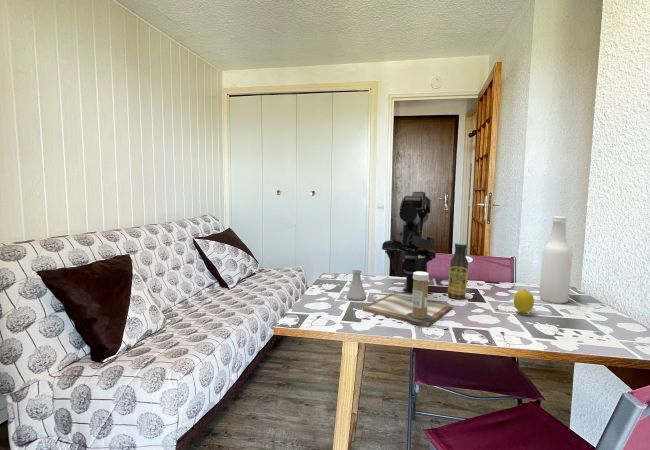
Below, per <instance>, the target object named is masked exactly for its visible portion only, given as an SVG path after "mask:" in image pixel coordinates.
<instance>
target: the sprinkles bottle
mask: <svg viewBox="0 0 650 450" xmlns="http://www.w3.org/2000/svg"><path fill="white" fill-rule="evenodd" d="M429 280H430V273H428V271H427V272H421V271H417V272H414V273H413V292H412V298H413V301H412V306H413V310H412V316H413V317H414V318H417V319H425V318H427V305H428V301H429V299H428V296H429V294H428V292H429V288H428V287H429Z"/></svg>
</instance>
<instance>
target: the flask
mask: <svg viewBox="0 0 650 450" xmlns="http://www.w3.org/2000/svg"><path fill="white" fill-rule="evenodd" d="M351 271H352V278H351V279H352V280H351V284H350V286H349V289H348V292H347V294H346V298H347V299H348V300H354V301H364V300H365V299H367V296H366V293H365V288H364V286H363V282H362V278H361V273H362V270H361V269H353V270H351Z"/></svg>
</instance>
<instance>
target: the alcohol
mask: <svg viewBox="0 0 650 450" xmlns="http://www.w3.org/2000/svg"><path fill="white" fill-rule="evenodd" d="M552 218H553V219H552V228H551V234H550V240H549V241H548V243H546V245H545V246H544V247H543V249H542V254H541V255H542V257H541V269H540V271H541V272H540V282H539V283H540V285H539V286H540V287H539V297H540V299H541V300H542V301H545V302H547V303H551V304H552V303H553V304H561V305H562V304H567V303H568V301H569V300H570V290H571V287H570V286H571V273H572V265H573V264H572V263H573V251H572V248H571V247H570V246H569V244H568V243H567V219H568V218H567V216H563V215H562V216H561V215H559V216H558V215H557V216H556V215H555V216H553V217H552Z"/></svg>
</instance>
